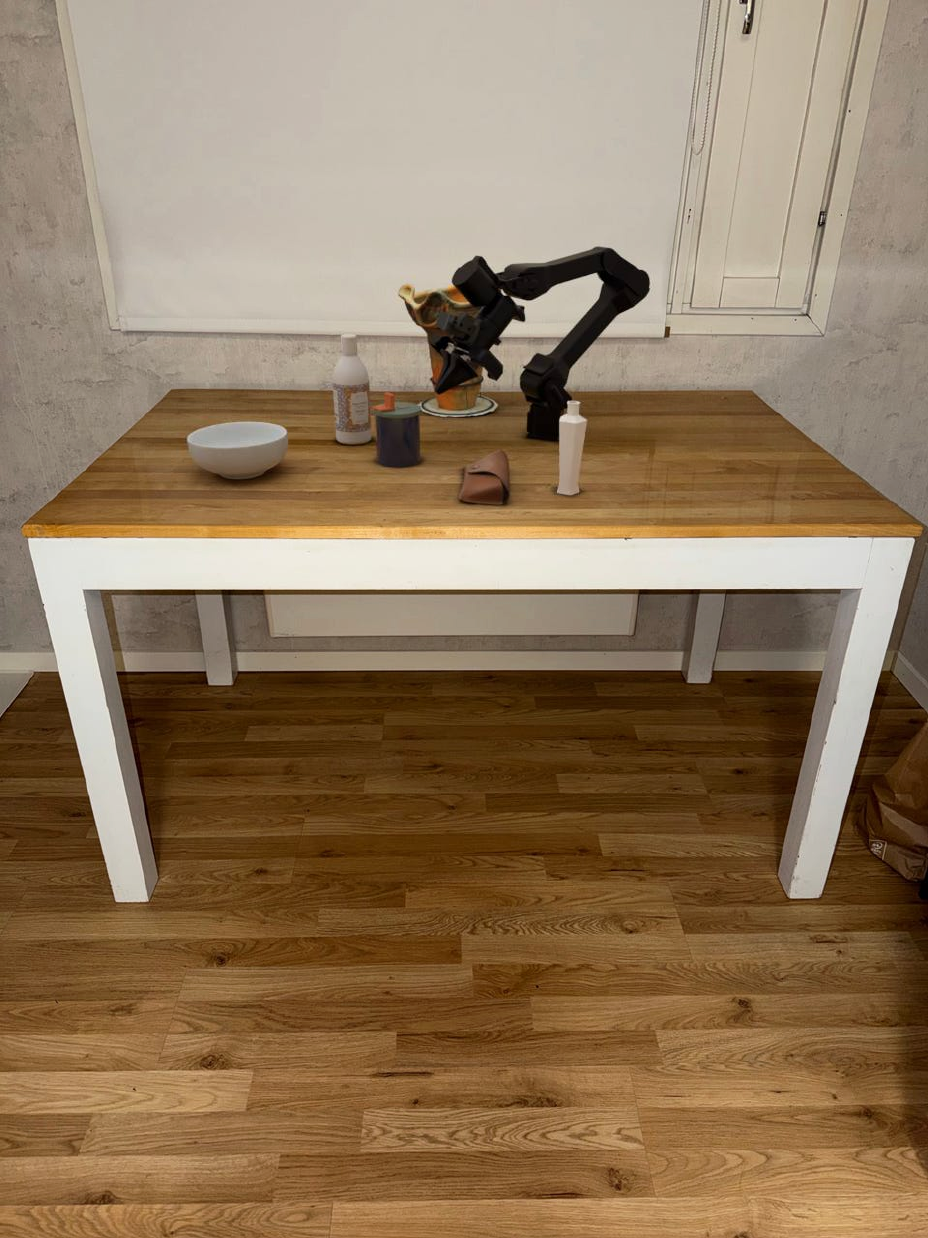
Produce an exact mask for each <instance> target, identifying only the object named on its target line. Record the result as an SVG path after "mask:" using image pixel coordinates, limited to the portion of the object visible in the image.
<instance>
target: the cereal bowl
mask: <svg viewBox="0 0 928 1238" xmlns="http://www.w3.org/2000/svg"><path fill="white" fill-rule="evenodd" d="M288 433H289V432H288V431H287V429H286V428H285V427H283V426H282V425H279V424H276V423H275V424H274V423H271V422H263V421H234V422H226V423H225V422H224V423H218V424H212V425H209V426H205V427H202V428H199V429H196V430H195V431H192V432H191V433H189V434H188V435H187V438H186V442H187V447H188V451H189V454H190V456H191V458H192V460H193V462H195V464H196V465H198V467H200V468H201V469H203V470H205V471H206V472H209V473H212V474H216V475H219V476H220V477H222V478H225V479H228V480H248V479H254V478H257V477H260V476H262V475H264V473H266V471H268V470H270V469H272V468H274V467H276V466H277V465H279V464H280V463H281V462H282V461H283V460H284V458H285V456H286V455H287V452H288V448H289V434H288Z"/></svg>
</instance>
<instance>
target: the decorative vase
mask: <svg viewBox="0 0 928 1238" xmlns="http://www.w3.org/2000/svg"><path fill="white" fill-rule="evenodd" d="M499 290H500V291H501V292H502V289H499ZM415 291H416V290H415V286H414V285H413V284H412V283H406V284H402V285H401V286H400V287H399V289H398V292H397V295H398V297H399V298H401V299H402V300H403V302H404V306H405V309H406V311H407V314H408V315H409V316H410V318H411V320H412V321H413V322H414V324H415V325H416V326H418V327H420V328H421V329H422V330H423V331H424V333H426V339H427V341H428V340H429V339H430V338H431V336H432V335H433V334H436V333H441V334H444V335H447V336H449V337H450V336H451V334H449V333H447V332H445V331H442V330H437V329H435V328H434V326H435V324H436V321H437V318H438V316H439V313H440V311H443V312H447V313H450V314H453V315H456V316H458V315H459V314H460V313H466V314H468V315H470V316H472V317H473V318H474V317H475V316H476V314H477V313H478V312H479V311H480V309H481V308H482V307H480V306H478V307H473V306H471V304H470V303H469V302H468V301H467V300H466V299H465V298H464V296H463V295H462V294H461V293H460V292H459V291H458V290H457V288H456V287H455V286H454V285H453V284H451V285H450V286H447V287H441V288H434V289H426V290H422V291H418V292H415ZM451 340H452V339H451ZM452 341H453V340H452ZM453 342H454V341H453ZM454 343H455V344H457V343H456V342H454ZM427 344H428V350H429V359H430V367H431V372H432V373H431V374H432V376H431V377H430V378H429V380H428V382H431V384H432V387H433V390H434V389H435V386H436V383H437V381H438V378H439V375H440V372H441V369H442V366H443V358H442V357H441V356H440V355H439V354H438V353H437V352H436V351H435V350H434V349H433V348H432V346H431V345H430V344H429V343H428V342H427ZM483 369H484V367H483V368H482V367H481V368H480V369H479V370H478V372H477V374H478V375H479V376H478V377H477V378H473V379H471V380H468V381H466V382H464V383H462V384H460V385H458V386H456V387H454V388H452V389H450V390H448V391H446V392H444V393H442V394H440V395H439V394H437V393H436V392H435V391H434V395H435V397H432V398H427V399H425V400H423V401H420V402H419V403H416V405H419V406H420V407H421V412H422V413H423V412H424V413H426V414H429V415H432V416H437V417H444V418H447V417H451V418H452V417H454V418H458V417H459V418H460V417H471V416H473V417H474V416H475V417H477V416H483V415H485V414H488V413H492V412H495V410H497V408H498V406H499V404H498V403H497V402H496V401H495V400H493V399H491V398H489V397H487V396H483V394H482V393H481V390H482V383H483V381H484V380H485V378H484V376H483V375H482V374H483ZM428 387H429V384H427V386H426V389H425V391H427V390H428ZM425 396H426V394H425V395H423V397H425Z"/></svg>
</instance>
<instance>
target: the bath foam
mask: <svg viewBox="0 0 928 1238" xmlns="http://www.w3.org/2000/svg"><path fill="white" fill-rule="evenodd" d="M357 339H358V338H357V335H356V334H353V333H345V334H341V335H340V348H341V350H340V351H341V356H340V357H339V359H338V361H337V363H336V365H335V367H334V370H333V372H332V393H333V394H332V395H333V409H334V412H333V413H334V427H335V428H334V429H335V439H336V441H337V442H338V443H340V444H343V445H350V446H351V445H355V446H356V445H363V444H366V443H368V442H370V441H371V440H372V417H371V416H372V415H371V414H372V413H371V393H370V391H371V390H370V388H371V387H370V376H369V373H368V370H367V367H366V366H365V364H364V363H363V361H362V360H361V358H360V357H359V355H358V341H357Z"/></svg>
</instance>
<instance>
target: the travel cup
mask: <svg viewBox="0 0 928 1238" xmlns="http://www.w3.org/2000/svg"><path fill="white" fill-rule="evenodd" d="M394 403H395V407H394V408H395V410H391V411H384V412H379V411H377V410H375V409H373V408H372V413H373V414H374V422H375V446H376V462H377V463H378V464H379V465H381V466H383V467H384V466H385V467H390V468H407V467H412V466H415V465H417V464H419V463H420V462H421V417H420V414H421V413H422V410H421V407H420V406H419V405H417V403H413V402H405V401H394ZM380 405H385V402H383V403H379V404H377V405H375V406H380Z"/></svg>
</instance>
